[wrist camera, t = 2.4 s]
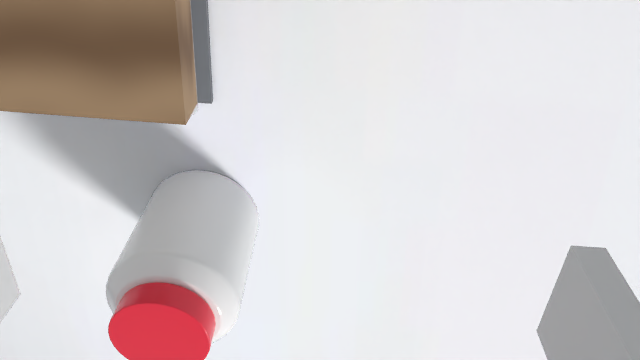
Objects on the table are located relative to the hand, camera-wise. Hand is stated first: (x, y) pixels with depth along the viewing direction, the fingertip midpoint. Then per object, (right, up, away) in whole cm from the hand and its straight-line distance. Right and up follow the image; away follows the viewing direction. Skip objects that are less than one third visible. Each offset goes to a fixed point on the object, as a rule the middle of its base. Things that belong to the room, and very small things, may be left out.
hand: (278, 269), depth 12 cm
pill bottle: (-7, 0, +26) cm, 27 cm away
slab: (-12, +10, +14) cm, 22 cm away
